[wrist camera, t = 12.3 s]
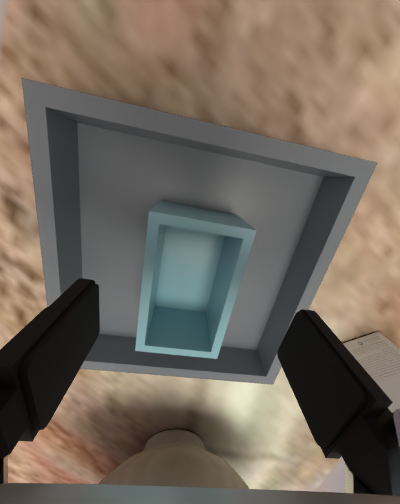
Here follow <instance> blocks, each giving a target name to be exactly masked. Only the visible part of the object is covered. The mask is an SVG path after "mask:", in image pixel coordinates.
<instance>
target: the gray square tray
mask: <svg viewBox="0 0 400 504" xmlns="http://www.w3.org/2000/svg"><path fill="white" fill-rule="evenodd" d="M22 85H23V94H24V103H25V112H26V121H27V130H28V139H29V148H30V156H31V165H32V174H33V183H34V192H35V201H36V210H37V219H38V228H39V236H40V245H41V254H42V263H43V272H44V281H45V290H46V299H47V307H49V306H50V305H51V304H52V303H53V302H54V301H55V300H56V299H57V298H58V297H59V296H60V295H62V294H63V293H64V292H65V291H66V290H67V289H68V288H69V287H70V286H71V285H72V284H73V283H74V282H75V281H76V280H77V279H79V278H83V279H91V280H94V281H95V284H98V285H99V313H100V332H99V335H98V338H97V340H96V341H95V343H94V345H93V346H92V348H91V350H90V352H89V353H88V355H87V357H86V359H85V360H84V362H83V364H82V366H81V367H80V369H90V370H103V371H115V372H127V373H139V374H151V375H163V376H176V377H188V378H200V379H212V380H224V381H236V382H249V383H261V384H273V383H274V381H275V379H276V377H277V375H278V373H279V371H280V369H281V363H280V361H279V359H278V355H277V352H278V349H279V347H280V345H281V342H282V340H283V338H284V336H285V334H286V332H287V330H288V328H289V326H290V324H291V322H292V320H293V318H294V316H295V314H296V313H297V312H299V311H300V310H301V309H304V310H308V309H309V307H310V305H311V303H312V301H313V299H314V297H315V294H316V292H317V290H318V288H319V286H320V284H321V282H322V280H323V277H324V275H325V273H326V271H327V269H328V267H329V265H330V263H331V261H332V258H333V256H334V254H335V252H336V250H337V248H338V246H339V244H340V241H341V239H342V237H343V235H344V233H345V231H346V229H347V227H348V224H349V222H350V220H351V218H352V216H353V214H354V212H355V210H356V208H357V205H358V203H359V201H360V199H361V197H362V195H363V193H364V191H365V188H366V186H367V184H368V182H369V180H370V178H371V176H372V174H373V171H374V169H375V167H376V165H377V163H376V162H372V161H367V160H363V159H359V158H355V157H351V156H347V155H342V154H338V153H334V152H330V151H326V150H321V149H317V148H313V147H309V146H305V145H300V144H296V143H292V142H288V141H284V140H280V139H275V138H271V137H267V136H263V135H259V134H254V133H250V132H246V131H242V130H238V129H233V128H229V127H225V126H221V125H217V124H212V123H208V122H204V121H200V120H196V119H192V118H187V117H183V116H179V115H175V114H171V113H166V112H162V111H158V110H154V109H150V108H145V107H141V106H137V105H133V104H129V103H124V102H120V101H116V100H112V99H108V98H104V97H99V96H95V95H91V94H87V93H83V92H78V91H74V90H70V89H66V88H62V87H57V86H53V85H49V84H45V83H41V82H37V81H32V80H28V79H24V78H22ZM162 200H163V201H168V202H173V203H178V204H183V205H189V206H194V207H199V208H204V209H210V210H215V211H220V212H225V213H231V214H236V215H238V216H239V217H240V218H241V219H243V220H244V221H245V222H246V223H248V224H249V225H250V226H251V227H253V228H254V229H255V230H257V231H256V234H255V238H254V241H253V244H252V247H251V251H250V254H249V257H248V260H247V264H246V267H245V270H244V273H243V277H242V280H241V283H240V286H239V290H238V293H237V296H236V299H235V303H234V306H233V309H232V312H231V316H230V319H229V322H228V325H227V329H226V332H225V335H224V338H223V342H222V345H221V348H220V351H219V355H218V358H217V359H212V358H202V357H192V356H182V355H172V354H162V353H152V352H142V351H135V347H136V337H137V327H138V317H139V306H140V296H141V286H142V276H143V266H144V256H145V246H146V236H147V225H148V215H149V210H151V209H152V208H153V207H154V206H156V205H157V204H158V203H159V202H160V201H162Z"/></svg>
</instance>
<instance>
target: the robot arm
mask: <svg viewBox="0 0 400 504" xmlns="http://www.w3.org/2000/svg"><path fill="white" fill-rule="evenodd" d="M99 332H100V313H99V285H98V284H95V281H94V280H91V279H83V278H79V279H77V280H76V281H75V282H74V283H73V284H72V285H71V286H70V287H69V288H68V289H67V290H66V291H65V292H64V293H63V294H62V295H60V296H59V297H58V298H57V299H56V300H55V301H54V302H53V303H52V304H51V305H50V306H49V307H47V308H45V309H44V310H43V311H41V312H40V313H39V314H38V315H37V316H36V317H35V318H34V319H33V320H32V321H31V322H30V323H29V324H27V325H26V326H25V327H24V328H23V329H22V330H21V331H20V332H19V333H18V334H17V335H16V336H15V337H14V338H12V339H11V340H10V341H9V342H8V343H7V344H6V345H5V346H4V347H3V348H2V349H1V350H0V504H400V409H396V410H395V411H394V412H393V413H392V412H391V411H390V410H389V409H388V407H389V406H390V405H391V404H392V403H393V402H392V401H391V400H390V398H389V397H388V396H387V395H386V394H385V393H384V391H383V390H382V389H381V388H380V387H379V385H378V384H377V383H376V382H375V381H374V380H373V378H372V377H371V376H370V375H369V374H368V373H367V371H366V370H365V369H364V368H363V367H362V366H361V364H360V363H359V362H358V361H357V360H356V359H355V357H354V356H353V355H352V354H351V353H350V352H349V350H348V349H347V348H346V347H345V346H344V345H343V343H342V342H341V341H340V340H339V339H338V338H337V336H336V335H335V334H334V333H333V332H332V331H331V329H330V328H329V327H328V326H327V325H326V324H325V322H324V321H323V320H322V319H321V318H320V317H319V315H318V314H317V313H316V312H315V311H311V310H304V309H301V310H300V311H299V312H297V313H296V314H295V316H294V318H293V320H292V322H291V324H290V326H289V328H288V330H287V332H286V334H285V336H284V338H283V340H282V342H281V345H280V347H279V349H278V352H277V355H278V359H279V361H280V363H281V366H282V368H283V370H284V372H285V375H286V377H287V379H288V381H289V384H290V386H291V388H292V390H293V392H294V395H295V397H296V399H297V401H298V404H299V406H300V408H301V410H302V413H303V415H304V417H305V419H306V421H307V424H308V426H309V428H310V430H311V433H312V435H313V437H314V439H315V441H316V443H317V444H318V445H319V446H320V447H321V449H322V451H323V453H324V455H325V458H337V459H339V458H340V457H341V456H342V457H343V459H344V461H345V463H346V466H345V493H332V492H309V491H285V490H258V489H230V488H202V487H172V486H139V485H105V484H42V483H8V455H9V454H10V453H11V452H12V450H13V449H14V447H15V446H16V444H17V442H18V441H33V440H34V438H35V436H36V435H37V433H38V431H39V430H43V429H44V428H45V427H46V426H47V425H48V423H49V422H50V420H51V418H52V416H53V415H54V413H55V411H56V409H57V408H58V406H59V404H60V402H61V401H62V399H63V397H64V395H65V394H66V392H67V390H68V388H69V387H70V385H71V383H72V381H73V380H74V378H75V376H76V374H77V373H78V371H79V369H80V367H81V366H82V364H83V362H84V360H85V359H86V357H87V355H88V353H89V352H90V350H91V348H92V346H93V345H94V343H95V341H96V340H97V338H98V335H99Z"/></svg>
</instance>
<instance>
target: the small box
mask: <svg viewBox="0 0 400 504" xmlns="http://www.w3.org/2000/svg"><path fill="white" fill-rule="evenodd" d="M343 345H344V346H345V347H346V348H347V349H348V350H349V352H350V353H351V354H352V355H353V356H354V357H355V359H356V360H357V361H358V362H359V363H360V364H361V366H362V367H363V368H364V369H365V370H366V371H367V373H368V374H369V375H370V376H371V377H372V378H373V380H374V381H375V382H376V383H377V384H378V385H379V387H380V388H381V389H382V390H383V391H384V393H385V394H386V395H387V396H388V397H389V398H390V400H391V401H392V402H393V403H392V404H391V405H390V406H389V407H388V409H389V410H390V411H391V412H392V413H393V412H394V411H395V410H396V409H400V349H399V348H398V347H397V346H396V345H394V344H393V343H392V342H391V341H389V340H388V339H387V338H386V337H384V336H383V335H382V334H381V333H379V332H375V333H372V334H369V335H367V336H364V337H361V338H358V339H355V340H352V341H349V342H346V343H343Z"/></svg>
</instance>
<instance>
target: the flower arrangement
mask: <svg viewBox="0 0 400 504" xmlns="http://www.w3.org/2000/svg"><path fill="white" fill-rule="evenodd" d="M98 484H105V485H139V486H172V487H202V488H230V489H249V488H248V486H247V485H246V483H245V482H244V481H243V480H242V478H241V477H240V476H239V475H238V473H237V472H236V471H235V470H234V469H233V468H232V467H231V466H229V465H228V464H227V463H226V462H225V461H224V460H223V459H222V458H221V457H219V456H217V455H215V454H212V453H210V452H208V451H206V450H205V446H204V443H203V442H202V440H201V439H200V438H199V437H198V435H196V434H194V433H192V432H190V431H186V430H180V429H175V430H166V431H163V432H160V433H157V434H155V435H154V436H153V437H151V438H150V439H149V440H148V441H147V442H146V445H145V447H144V449H143V451H142V452H140V453H137V454H135V455H132V456H131V457H130V458H128V459H127V460H126V461H124V462H123V463H122V464H120V465H119V466H118V467H116V468H115V469H114V470H113V471H112V472H111V473H110V474H109V475H107V476H106V477H105V478H104V479H103V480H102V481H101V482H100V483H98Z"/></svg>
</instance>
